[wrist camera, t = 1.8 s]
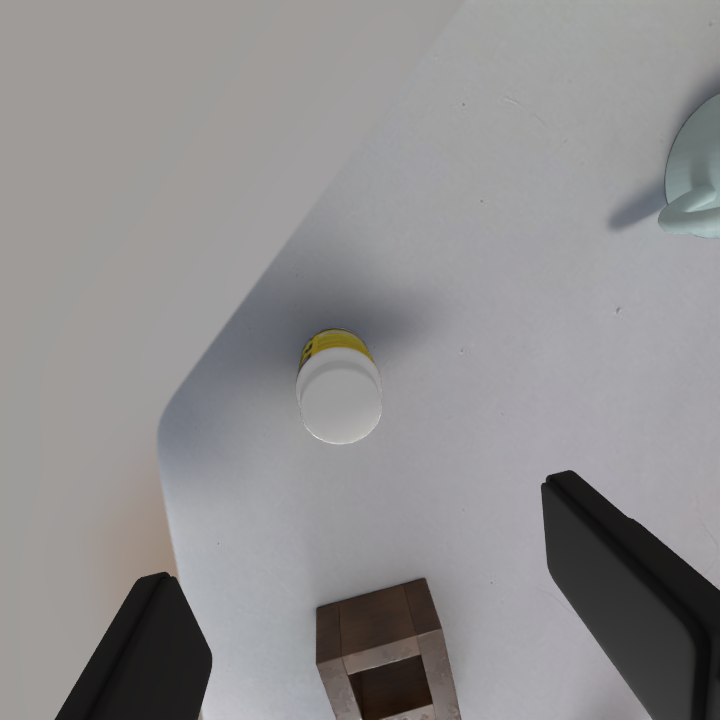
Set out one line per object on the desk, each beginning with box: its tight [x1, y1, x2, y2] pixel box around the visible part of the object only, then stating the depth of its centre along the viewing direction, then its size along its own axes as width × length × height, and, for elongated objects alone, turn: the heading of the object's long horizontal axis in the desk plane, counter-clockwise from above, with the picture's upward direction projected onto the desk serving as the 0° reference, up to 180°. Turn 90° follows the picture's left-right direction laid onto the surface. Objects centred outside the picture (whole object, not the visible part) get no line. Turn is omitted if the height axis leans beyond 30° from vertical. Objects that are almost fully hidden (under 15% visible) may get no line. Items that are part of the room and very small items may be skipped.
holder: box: [316, 578, 461, 720], centre depth 31 cm, size 10×18×4 cm, turn 13°
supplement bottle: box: [296, 327, 382, 444], centre depth 21 cm, size 5×5×8 cm
